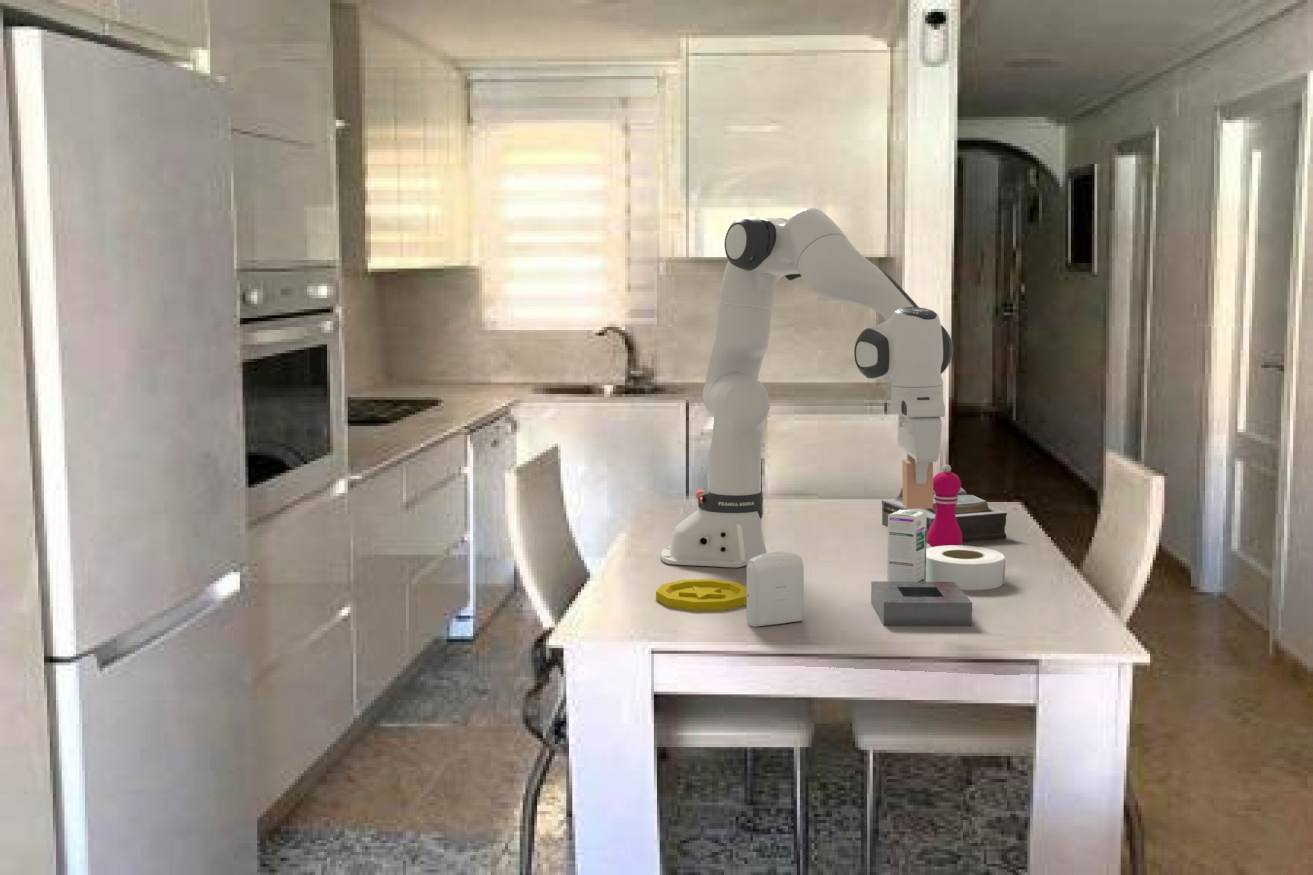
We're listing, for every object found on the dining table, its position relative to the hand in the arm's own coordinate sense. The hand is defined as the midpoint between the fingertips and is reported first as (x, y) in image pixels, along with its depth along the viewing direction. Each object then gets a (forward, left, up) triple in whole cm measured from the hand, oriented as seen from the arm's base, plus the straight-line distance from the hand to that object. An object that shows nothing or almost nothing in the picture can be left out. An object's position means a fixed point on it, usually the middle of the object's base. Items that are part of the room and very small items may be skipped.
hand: (917, 480), depth 231 cm
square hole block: (+1, 0, -24) cm, 24 cm away
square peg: (0, 0, -5) cm, 5 cm away
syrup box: (+2, +20, -24) cm, 31 cm away
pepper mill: (+14, +44, -24) cm, 52 cm away
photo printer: (-25, -6, -24) cm, 35 cm away
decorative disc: (-37, +10, -24) cm, 45 cm away
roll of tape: (+14, +25, -24) cm, 37 cm away
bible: (+19, +73, -24) cm, 79 cm away
